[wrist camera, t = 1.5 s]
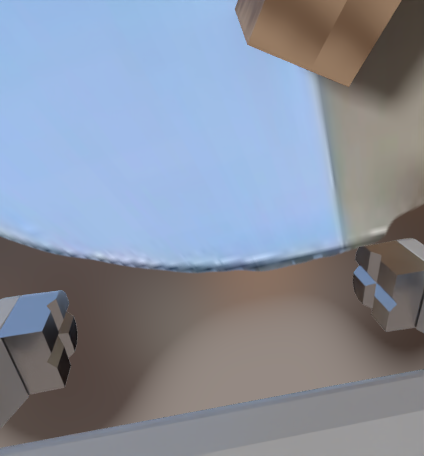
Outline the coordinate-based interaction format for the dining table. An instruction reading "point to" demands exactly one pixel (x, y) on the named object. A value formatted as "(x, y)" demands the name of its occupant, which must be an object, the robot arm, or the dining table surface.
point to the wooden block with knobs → (317, 32)
